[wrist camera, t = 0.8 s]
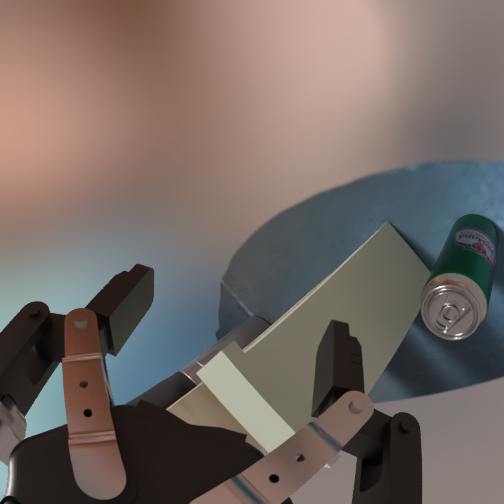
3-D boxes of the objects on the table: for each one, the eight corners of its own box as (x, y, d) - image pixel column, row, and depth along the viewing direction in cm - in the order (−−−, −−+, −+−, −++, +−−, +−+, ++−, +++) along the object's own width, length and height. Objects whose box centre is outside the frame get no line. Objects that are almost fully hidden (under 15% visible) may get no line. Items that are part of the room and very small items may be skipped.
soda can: (507, 229, 20) (500, 308, 13) (482, 271, 24) (458, 356, 17) (463, 201, 23) (436, 265, 16) (443, 245, 26) (403, 319, 19)
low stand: (395, 313, 34) (276, 460, 21) (342, 251, 36) (196, 373, 23) (444, 283, 27) (331, 467, 15) (383, 211, 29) (221, 350, 17)
